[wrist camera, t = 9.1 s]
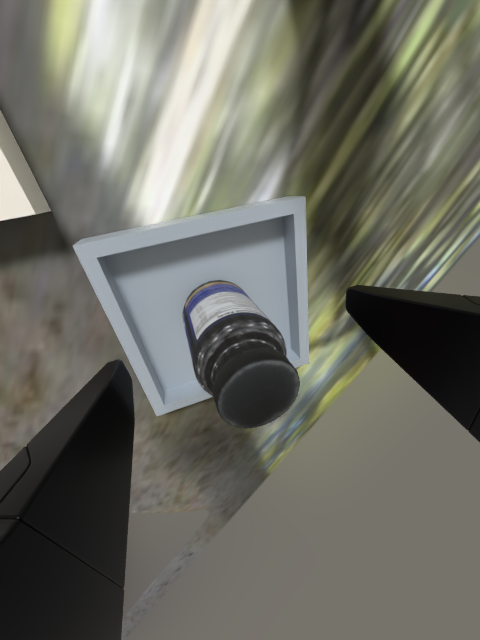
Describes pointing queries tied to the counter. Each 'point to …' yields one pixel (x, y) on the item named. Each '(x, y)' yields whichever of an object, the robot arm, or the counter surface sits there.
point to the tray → (192, 271)
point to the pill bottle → (238, 355)
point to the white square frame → (17, 180)
